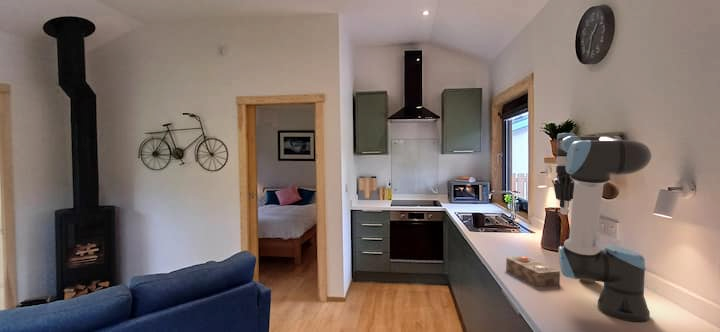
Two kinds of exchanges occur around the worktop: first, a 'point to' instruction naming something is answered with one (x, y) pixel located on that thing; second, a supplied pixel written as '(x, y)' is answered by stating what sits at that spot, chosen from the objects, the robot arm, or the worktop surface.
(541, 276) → the walnut plug block
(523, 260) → the terracotta plug
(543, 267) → the white oval piece
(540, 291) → the worktop surface
